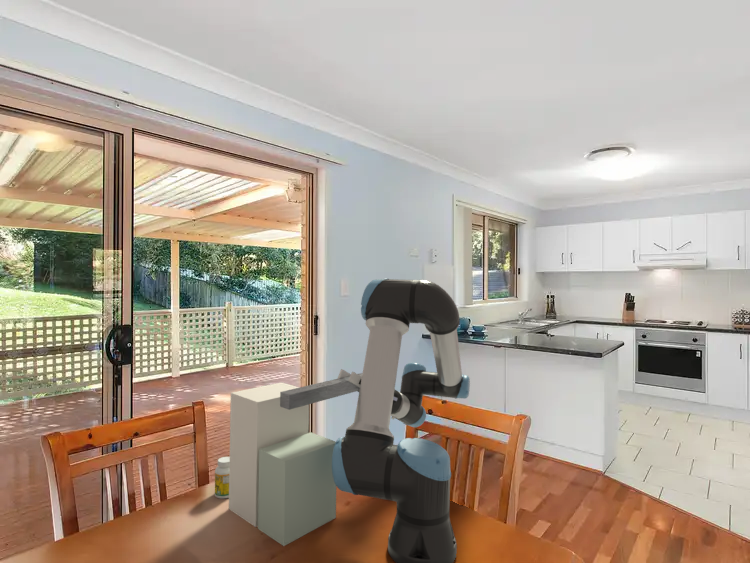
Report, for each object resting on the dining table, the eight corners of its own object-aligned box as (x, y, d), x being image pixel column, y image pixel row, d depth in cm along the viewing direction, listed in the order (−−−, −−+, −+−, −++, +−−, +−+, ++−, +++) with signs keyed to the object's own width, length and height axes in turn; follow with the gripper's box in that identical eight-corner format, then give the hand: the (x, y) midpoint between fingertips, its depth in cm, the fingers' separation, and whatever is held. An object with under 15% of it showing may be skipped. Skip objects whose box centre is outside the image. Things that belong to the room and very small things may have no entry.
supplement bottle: (237, 496, 120) (237, 461, 120) (216, 501, 118) (217, 465, 118) (232, 487, 125) (233, 454, 125) (212, 492, 122) (213, 457, 122)
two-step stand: (279, 487, 126) (281, 382, 125) (335, 517, 111) (338, 398, 110) (228, 508, 114) (230, 392, 113) (283, 546, 99) (286, 412, 98)
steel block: (365, 384, 128) (365, 372, 128) (374, 386, 126) (374, 374, 126) (280, 406, 106) (280, 392, 106) (289, 409, 104) (289, 394, 103)
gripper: (410, 420, 128) (363, 394, 113) (367, 408, 139) (319, 382, 124) (418, 396, 131) (373, 367, 116) (376, 385, 142) (330, 358, 127)
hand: (345, 375), depth 120 cm, fingers closed on steel block, 3 cm apart
